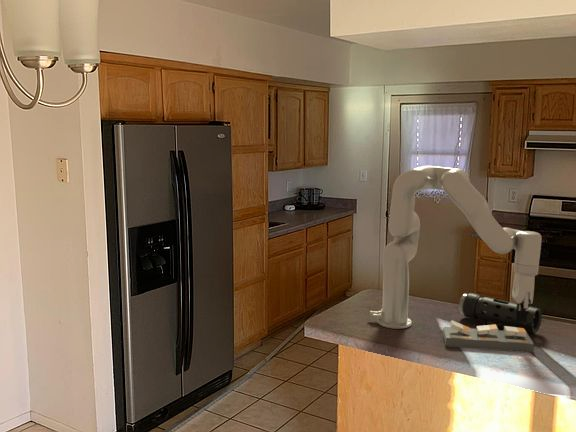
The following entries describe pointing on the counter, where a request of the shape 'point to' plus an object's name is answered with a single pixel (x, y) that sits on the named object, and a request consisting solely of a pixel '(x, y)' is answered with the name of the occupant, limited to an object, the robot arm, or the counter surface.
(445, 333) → the switch unit
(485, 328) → the switch middle
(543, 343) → the counter surface
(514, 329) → the switch right
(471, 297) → the muzzle brake
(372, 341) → the counter surface
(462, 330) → the switch left
